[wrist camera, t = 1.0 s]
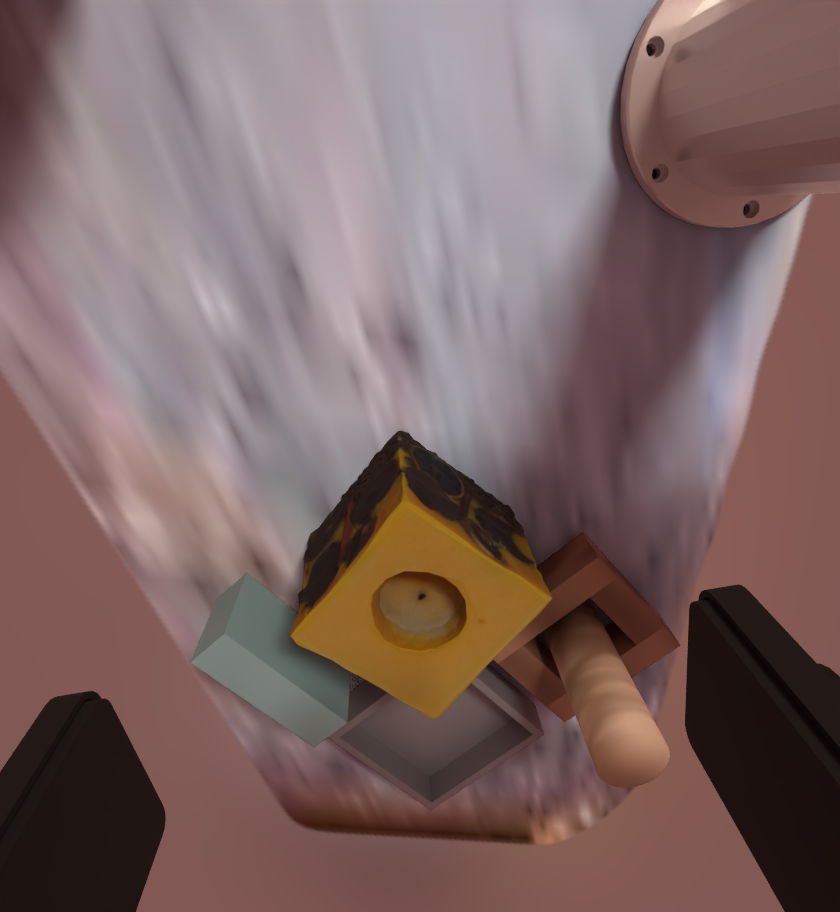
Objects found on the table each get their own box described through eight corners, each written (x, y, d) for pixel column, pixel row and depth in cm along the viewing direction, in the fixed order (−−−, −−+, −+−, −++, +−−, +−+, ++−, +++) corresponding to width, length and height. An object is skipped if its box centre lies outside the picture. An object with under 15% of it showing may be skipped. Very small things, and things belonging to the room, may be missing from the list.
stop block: (246, 573, 39) (224, 633, 33) (351, 655, 42) (347, 722, 37) (216, 599, 40) (190, 662, 34) (322, 678, 43) (314, 747, 37)
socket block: (583, 532, 39) (598, 556, 37) (661, 617, 43) (680, 645, 40) (470, 616, 42) (477, 645, 39) (553, 690, 45) (564, 722, 42)
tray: (441, 622, 42) (445, 650, 39) (534, 704, 45) (544, 734, 43) (330, 706, 44) (327, 737, 42) (428, 777, 48) (430, 810, 45)
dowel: (573, 584, 41) (644, 722, 30) (604, 616, 42) (683, 760, 31) (528, 616, 42) (581, 762, 31) (561, 647, 43) (623, 797, 32)
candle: (423, 611, 41) (436, 726, 32) (304, 539, 38) (280, 643, 29) (518, 509, 38) (562, 603, 29) (397, 423, 36) (403, 498, 26)
